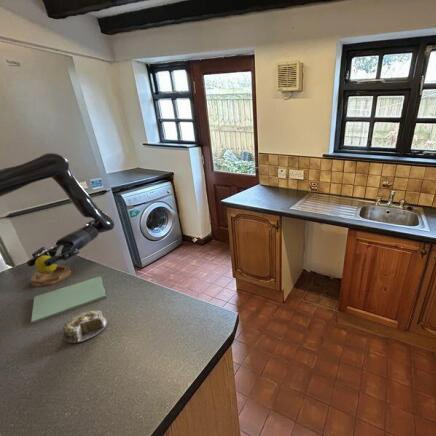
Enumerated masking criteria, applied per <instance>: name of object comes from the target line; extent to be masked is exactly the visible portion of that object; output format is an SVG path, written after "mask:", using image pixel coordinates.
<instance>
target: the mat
mask: <svg viewBox="0 0 436 436" xmlns="http://www.w3.org/2000/svg"><path fill="white" fill-rule="evenodd" d="M105 298H107V296H106V291H105V287H104V283H103V278H102V276H100V275H99V276H97V277H93V278H90V279H86V280H84V281H81V282H80V281H79V282H77V283H74V284H71V285H68V286H65V287H61V288H59V289H55V290H52V291H48V292H45V293H41V294H38V295H35V296H34V297H33V304H32V312H31V319H30V322H31V324H35V323H38V322H41V321H44V320H46V319H49V318H52V317H55V316H57V315H60V314H62V313H63V314H64V313H66V312H68V311H69V312H70V311H71V310H74V309H77V308H79V307H82V306H85V305H88V304H91V303H93V302H97V301H100V300H102V299H105Z"/></svg>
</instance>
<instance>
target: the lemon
mask: <svg viewBox="0 0 436 436" xmlns="http://www.w3.org/2000/svg"><path fill="white" fill-rule="evenodd" d="M49 258H51V256H50V255H48V256H44V255H42V256H41V257H39V258H38V259H37V260H36V261H35V265H34V268H35V270H36V271H37V272H40V273H42V274H51V273H52V272H53V271H54V270H55V269H56V267H57V266H58V264H57V262H55V263H54V264H52V265H50V266H46V265H45V261H46V260H48V259H49Z"/></svg>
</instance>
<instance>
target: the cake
mask: <svg viewBox="0 0 436 436" xmlns="http://www.w3.org/2000/svg"><path fill="white" fill-rule="evenodd" d="M107 325H108V319H107V318H106V317H104V316H103V313H102V311H100V310H90V311H85V312H82V313H81V314H77V315H75V316H73V317H72V318H71V319H70V320H68V321H67V322H66V323H64V325H63V326H62V331H63V341H64V342H65V343H67V344H77V343H81V342H84V341H87V340H90V339H91V338H93V337H95V336H97V335H98V334H99V333H102V331H103V330H104V329H105V328H106V327H107Z"/></svg>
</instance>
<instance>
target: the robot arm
mask: <svg viewBox="0 0 436 436" xmlns="http://www.w3.org/2000/svg"><path fill="white" fill-rule="evenodd" d="M69 163H70V162H69V161H68V160H67V158H66V157H64V156H63V155H61V154H59V153H56V152H46V153H43V154H42V155H40V156H38V157H36V158H33V159H32V160H29V161H26V162H24V163H21V164H18V165H14V166H9V167H4V168H0V198H1V197H3V196H6V195H8V194H11V193H14V192H15V191H18V190H20V189H22V188H24V187H27V186H29V185H30V184H33V183H36V182H39V181H43V180H47V179H50V178H51V179H53V181H55V182H56V183H57V184H58V186H59V187H60V188H61V189H62V190H63V192H64V194H65V195H66V196H67V198H68V199H69V201H70V202H71V203H72V206H74V207H75V209H76V210H77V211H78V212H79V214H80V215H81V216H82V217H83V218H91V220H89V221H88V222H86V223H85V224H83V226H82V227H79V228H78V229H76V230H73V231H72V232H69V233H68V234H66V235H64V236H62V237H61V238H59V239H57V240H56V243H55V244H54V245H52V246H50V247H49V248H46V247H45V246H41V247H39V248H38V249H37V250H36V251H34V252H33V253H32V254H31V256H32V258H30V259H29V260H27V261H26V264H27V266H28V267H33V266H35V261H36V260H37V259H38V258H39V257H41V256H42V255H43V256H51V258H49V259H48V260H46V261H45V265H46V266H50V265H52V264H54V263H55V262H56V263H57V262H60V261H67V260H69V259H71V258H73V257H75V256H76V255H78V254H80V250H81V249H83V248H84V247H86V246H87V245H88V244H89V243H91V242H92V241H94V240H96V239H97V238H98V236H99V234H103V233H107V232H110V231H112V230H113V229H114V227H115V222H114V219H113V218H112V217H111V216H110V215H109V214H107V213H106V212H104V210H102V209H101V208H99V206H98V205H97V204H96V202H95V201H94V200H93V197H91V196H90V195H89V194H88V193H87V191H86V190H85V189H84V188H83V187H82V185H80V183H79V182H78V180H77V179H76V177H75V176H74V175H73V173H72V170H71V169H70V164H69Z"/></svg>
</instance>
